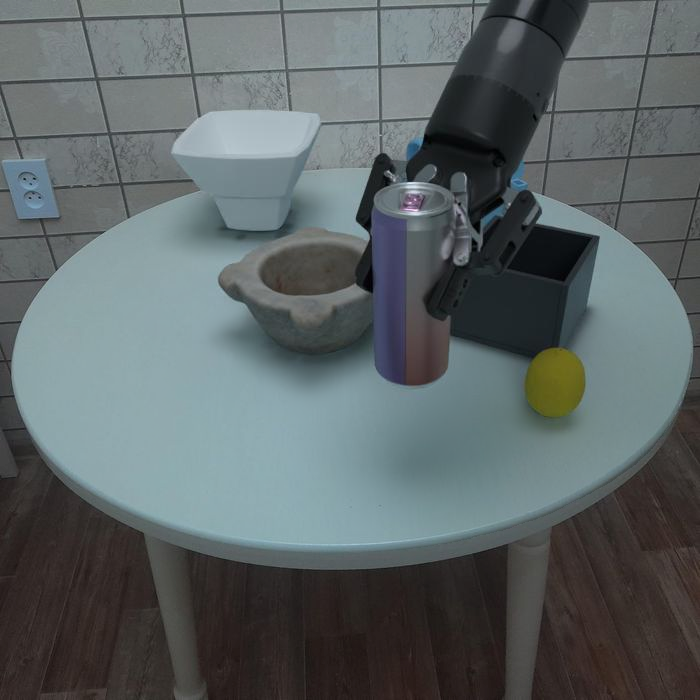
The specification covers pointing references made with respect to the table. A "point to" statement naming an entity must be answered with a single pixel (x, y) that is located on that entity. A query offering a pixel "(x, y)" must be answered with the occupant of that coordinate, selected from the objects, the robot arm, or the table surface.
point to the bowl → (248, 162)
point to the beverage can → (410, 281)
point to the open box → (530, 293)
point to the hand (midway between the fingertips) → (399, 302)
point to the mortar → (304, 290)
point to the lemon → (555, 382)
